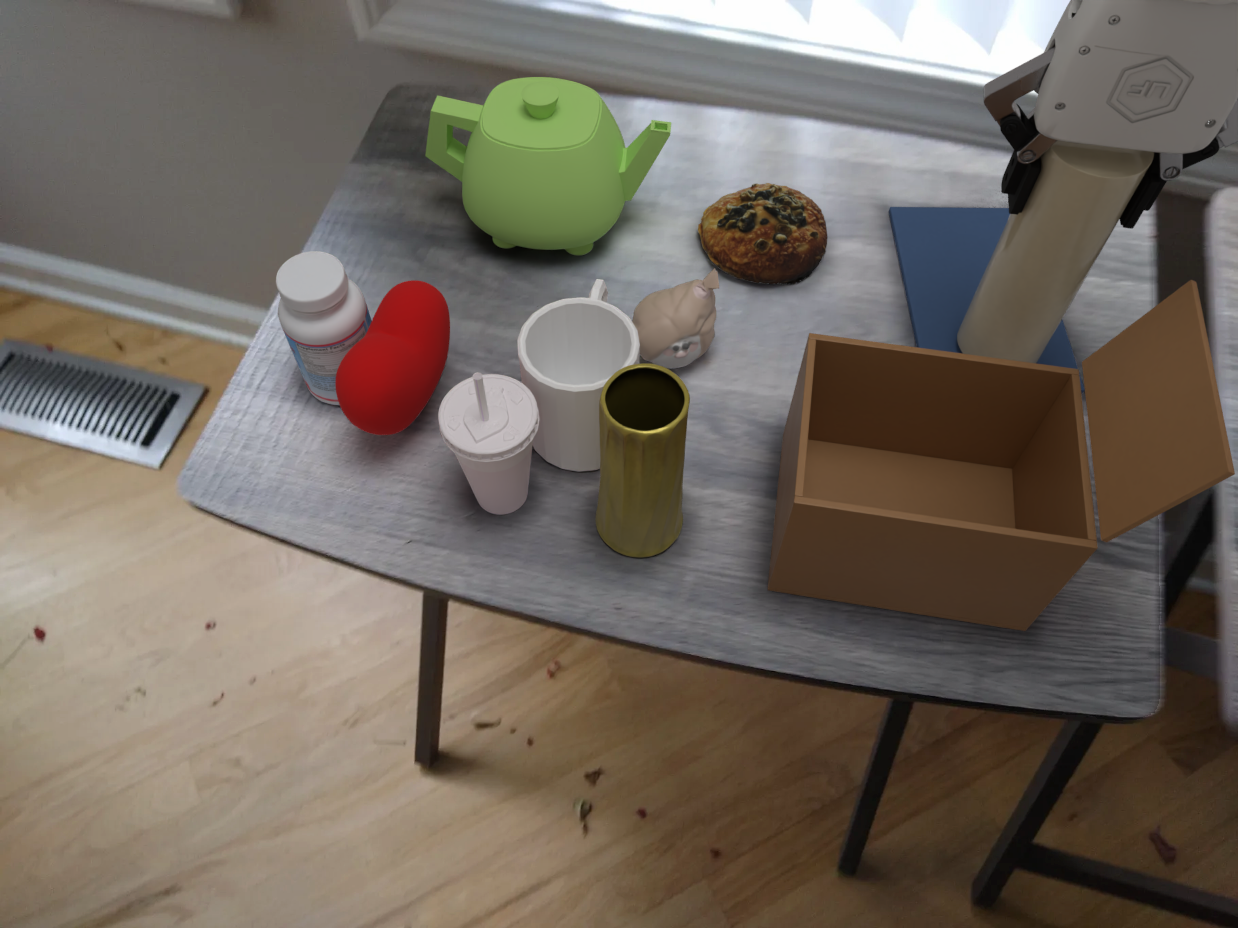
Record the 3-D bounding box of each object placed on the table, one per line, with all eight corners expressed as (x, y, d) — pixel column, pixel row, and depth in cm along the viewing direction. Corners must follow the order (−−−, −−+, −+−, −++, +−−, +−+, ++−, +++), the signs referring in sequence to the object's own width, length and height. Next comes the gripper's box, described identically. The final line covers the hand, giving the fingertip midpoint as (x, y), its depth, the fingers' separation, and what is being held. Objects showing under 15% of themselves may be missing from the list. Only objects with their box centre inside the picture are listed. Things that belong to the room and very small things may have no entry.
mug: (653, 354, 77) (659, 264, 69) (624, 480, 71) (626, 398, 62) (554, 338, 78) (547, 247, 70) (516, 462, 72) (503, 378, 63)
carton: (1016, 467, 72) (1079, 368, 62) (1025, 631, 65) (1098, 548, 55) (782, 434, 73) (809, 332, 63) (767, 590, 66) (793, 502, 56)
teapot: (672, 175, 89) (680, 49, 78) (656, 284, 81) (663, 161, 71) (454, 155, 90) (433, 29, 79) (420, 260, 83) (392, 137, 72)
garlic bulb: (705, 390, 75) (714, 320, 69) (623, 376, 76) (624, 305, 69) (717, 325, 79) (727, 253, 72) (639, 313, 79) (642, 240, 73)
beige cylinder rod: (1057, 347, 76) (1175, 147, 60) (1006, 389, 74) (1114, 193, 58) (991, 300, 79) (1087, 96, 63) (939, 339, 77) (1026, 138, 61)
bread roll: (792, 308, 80) (795, 258, 76) (674, 267, 84) (672, 219, 80) (851, 231, 85) (856, 182, 81) (737, 197, 90) (738, 148, 86)
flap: (1081, 361, 61) (1086, 364, 61) (1100, 540, 54) (1106, 543, 54) (1190, 279, 55) (1196, 281, 55) (1229, 471, 48) (1235, 474, 48)
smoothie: (444, 520, 69) (410, 400, 57) (473, 447, 72) (447, 319, 61) (532, 539, 68) (516, 421, 56) (557, 464, 71) (547, 338, 60)
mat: (1082, 395, 75) (1085, 390, 75) (925, 393, 75) (927, 388, 75) (1024, 213, 86) (1027, 207, 86) (888, 211, 86) (889, 206, 86)
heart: (409, 485, 70) (382, 401, 62) (342, 463, 71) (306, 377, 63) (477, 365, 76) (461, 274, 68) (414, 346, 77) (390, 254, 69)
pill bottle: (318, 344, 77) (278, 239, 68) (394, 350, 77) (364, 245, 68) (297, 406, 74) (252, 304, 65) (377, 412, 74) (342, 311, 64)
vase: (583, 543, 68) (577, 423, 56) (612, 473, 71) (612, 345, 59) (667, 569, 67) (680, 453, 55) (693, 496, 70) (710, 371, 58)
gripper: (1035, -41, 49) (935, 230, 64) (1405, -4, 47) (1213, 264, 62) (1027, -118, 53) (934, 154, 68) (1368, -86, 51) (1196, 185, 66)
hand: (1069, 205), depth 65 cm, fingers closed on beige cylinder rod, 6 cm apart
